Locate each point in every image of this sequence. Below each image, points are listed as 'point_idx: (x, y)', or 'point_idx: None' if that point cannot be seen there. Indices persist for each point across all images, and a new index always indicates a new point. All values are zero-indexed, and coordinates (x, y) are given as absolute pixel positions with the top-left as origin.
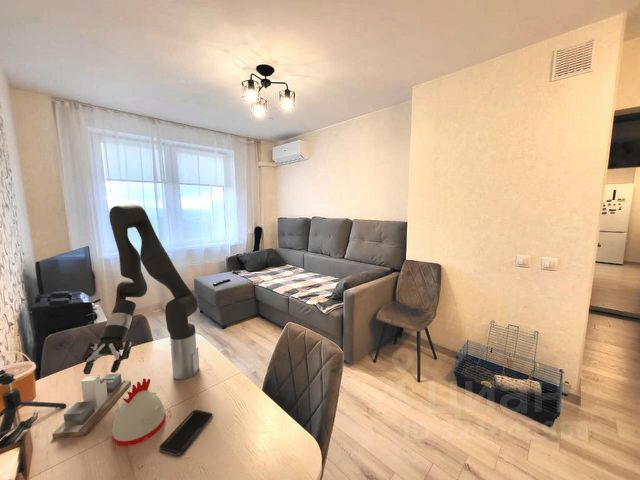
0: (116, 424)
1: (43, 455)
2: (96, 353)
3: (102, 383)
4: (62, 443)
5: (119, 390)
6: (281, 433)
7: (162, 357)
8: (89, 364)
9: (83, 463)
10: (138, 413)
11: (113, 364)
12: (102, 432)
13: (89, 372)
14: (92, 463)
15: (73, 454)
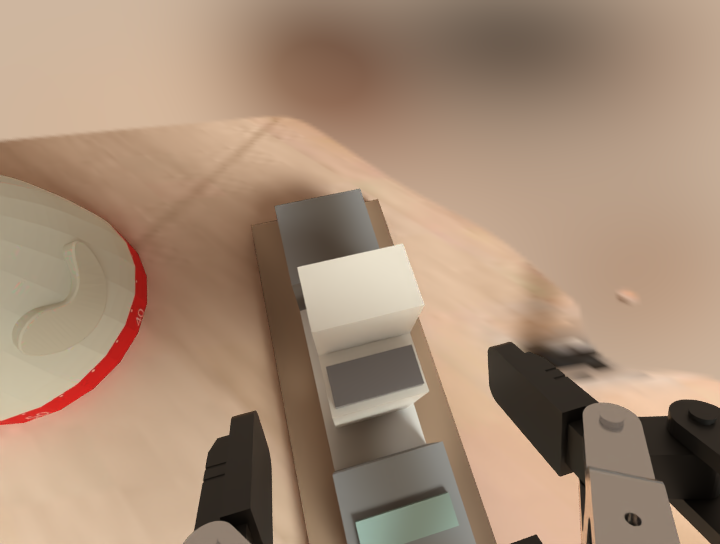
0: (41, 188)
1: (331, 159)
2: (598, 501)
3: (323, 377)
4: None
5: (318, 510)
6: None
7: None
8: (543, 399)
9: (161, 153)
10: None
11: (243, 465)
12: (195, 258)
13: (498, 395)
14: (129, 156)
15: (227, 172)
